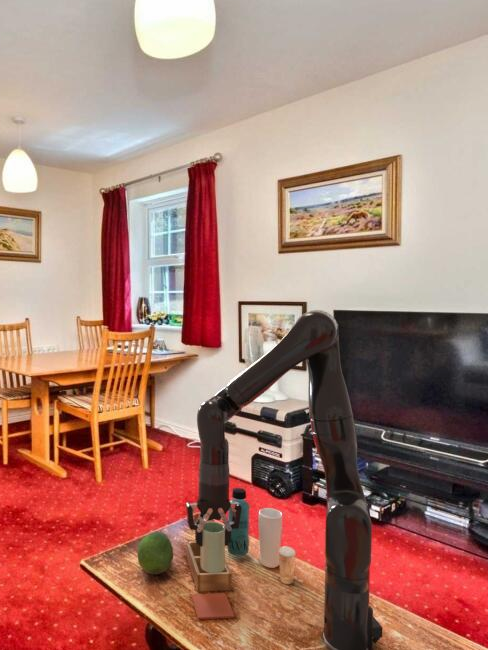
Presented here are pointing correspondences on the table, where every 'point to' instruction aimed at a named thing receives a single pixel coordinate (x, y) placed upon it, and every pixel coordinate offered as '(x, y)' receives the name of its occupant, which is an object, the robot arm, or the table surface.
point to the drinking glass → (270, 536)
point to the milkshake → (287, 564)
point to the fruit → (155, 553)
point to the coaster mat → (212, 606)
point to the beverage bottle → (241, 534)
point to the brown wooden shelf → (203, 578)
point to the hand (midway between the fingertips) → (213, 544)
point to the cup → (213, 547)
